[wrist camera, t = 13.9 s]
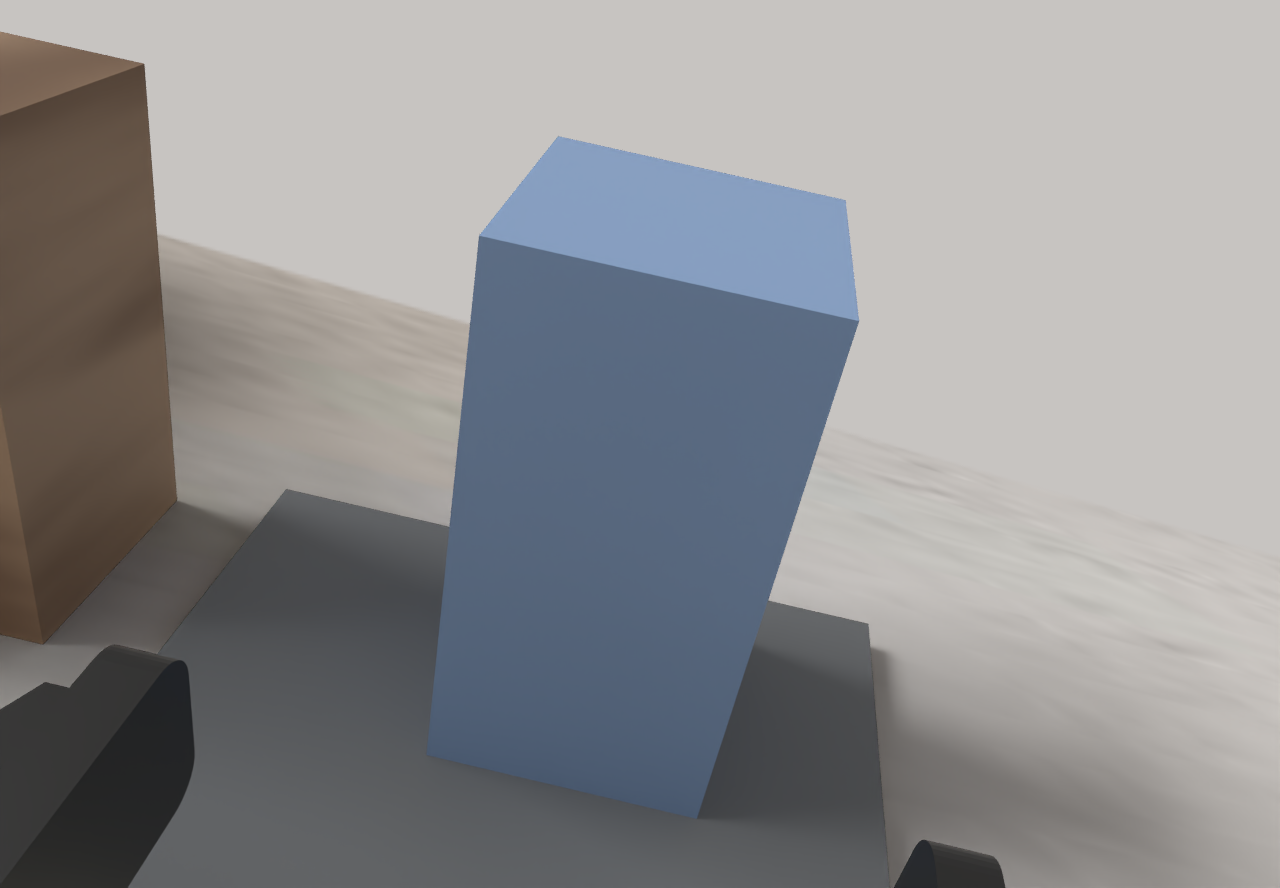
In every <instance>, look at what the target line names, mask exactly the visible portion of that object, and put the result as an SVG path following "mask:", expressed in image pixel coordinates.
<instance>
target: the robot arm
mask: <svg viewBox="0 0 1280 888" xmlns="http://www.w3.org/2000/svg"><path fill="white" fill-rule="evenodd" d="M194 759H195V747H194V734H193V721H192V708H191V696H190V683H189V672H188V667H187V665H186V663H185V662H184V661H182V660H178V659H174V658H170V657H166V656H162V655H157V654H153V653H149V652H145V651H141V650H136V649H132V648H128V647H124V646H120V645H112V646H109V647H107V648H105V649H104V650H103V651H101V652H100V653H99V654H98V655H97V656H96V657H95V658H94V660H93V661H92V662H91V663H90V664H89V665H88V667H87V668H86V669H85V670H84V671H83V672H82V674H81V675H80V676H79V677H78V678H77V679H76V681H75V682H74V683H73V684H72V685H71V687H70V688H67V687H63V686H59V685H55V684H51V683H46V682H45V683H43V684H41V685H40V686H38V687H36V688H35V689H33V690H32V691H30V692H28V693H27V694H25V695H23V696H22V697H20V698H18V699H17V700H15V701H14V702H12V703H10V704H9V705H7V706H5V707H4V708H2V709H0V888H128V886H129V885H130V883H131V882H132V880H133V879H134V877H135V875H136V874H137V872H138V871H139V869H140V868H141V866H142V864H143V863H144V861H145V860H146V858H147V857H148V855H149V853H150V852H151V850H152V849H153V847H154V846H155V844H156V843H157V841H158V839H159V838H160V836H161V835H162V833H163V832H164V830H165V828H166V827H167V825H168V824H169V822H170V821H171V819H172V817H173V816H174V814H175V813H176V811H177V809H178V807H179V806H180V804H181V802H182V799H183V797H184V795H185V793H186V790H187V787H188V785H189V782H190V778H191V775H192V771H193V766H194ZM894 888H1005V884H1004V879H1003V874H1002V870H1001V868H1000V865H999V863H998V861H997V860H996V859H995V858H994V857H993V856H990V855H986V854H982V853H978V852H974V851H969V850H965V849H961V848H957V847H953V846H948V845H944V844H940V843H936V842H931V841H927V840H922V841H920V842H919V843H918V844H917V845H916V847H915V848H914V850H913V852H912V854H911V856H910V858H909V860H908V862H907V864H906V866H905V868H904V869H903V871H902V873H901V875H900V877H899V879H898V881H897V883H896V885H895V887H894Z"/></svg>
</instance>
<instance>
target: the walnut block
mask: <svg viewBox="0 0 1280 888" xmlns="http://www.w3.org/2000/svg"><path fill="white" fill-rule="evenodd" d="M176 501H177V494H176V480H175V467H174V454H173V440H172V427H171V414H170V400H169V387H168V374H167V360H166V347H165V334H164V320H163V307H162V294H161V280H160V267H159V253H158V240H157V227H156V213H155V200H154V187H153V174H152V160H151V147H150V134H149V121H148V107H147V94H146V81H145V68H144V64H143V63H138V62H134V61H129V60H125V59H120V58H115V57H111V56H107V55H102V54H98V53H93V52H88V51H84V50H80V49H75V48H71V47H67V46H62V45H57V44H53V43H49V42H44V41H40V40H35V39H31V38H26V37H22V36H17V35H12V34H8V33H4V32H0V634H1V635H5V636H9V637H14V638H18V639H22V640H26V641H31V642H35V643H39V644H44V643H45V642H46V641H47V640H48V639H49V638H50V637H51V635H52V634H53V633H54V632H55V631H56V630H57V629H58V628H59V627H60V626H61V625H62V624H63V623H64V621H65V620H66V619H67V618H68V617H69V616H70V615H71V614H72V613H73V612H74V611H75V610H76V609H77V607H78V606H79V605H80V604H81V603H82V602H83V601H84V600H85V599H86V598H87V597H88V596H89V595H90V593H91V592H92V591H93V590H94V589H95V588H96V587H97V586H98V585H99V584H100V583H101V582H102V581H103V579H104V578H105V577H106V576H107V575H108V574H109V573H110V572H111V571H112V570H113V569H114V568H115V567H116V565H117V564H118V563H119V562H120V561H121V560H122V559H123V558H124V557H125V556H126V555H127V554H128V553H129V551H130V550H131V549H132V548H133V547H134V546H135V545H136V544H137V543H138V542H139V541H140V540H141V539H142V537H143V536H144V535H145V534H146V533H147V532H148V531H149V530H150V529H151V528H152V527H153V526H154V525H155V523H156V522H157V521H158V520H159V519H160V518H161V517H162V516H163V515H164V514H165V513H166V512H167V511H168V509H169V508H170V507H171V506H172V505H173V504H174V503H175V502H176Z"/></svg>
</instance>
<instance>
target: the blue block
mask: <svg viewBox="0 0 1280 888" xmlns="http://www.w3.org/2000/svg"><path fill="white" fill-rule="evenodd" d="M858 323H859V317H858V309H857V299H856V290H855V281H854V272H853V263H852V255H851V245H850V236H849V228H848V219H847V210H846V201H845V200H842V199H838V198H833V197H828V196H824V195H820V194H815V193H811V192H806V191H801V190H797V189H793V188H788V187H784V186H779V185H775V184H771V183H766V182H762V181H757V180H753V179H748V178H744V177H739V176H735V175H730V174H726V173H721V172H717V171H712V170H708V169H703V168H699V167H694V166H690V165H685V164H680V163H676V162H671V161H667V160H663V159H658V158H654V157H649V156H645V155H640V154H636V153H631V152H626V151H622V150H618V149H613V148H609V147H604V146H600V145H595V144H591V143H586V142H582V141H577V140H573V139H568V138H563V137H557V138H556V140H555V141H554V142H553V143H552V145H551V146H550V147H549V148H548V150H547V151H546V152H545V153H544V155H543V156H542V157H541V158H540V160H539V161H538V162H537V164H536V165H535V166H534V167H533V169H532V170H531V171H530V172H529V174H528V175H527V176H526V177H525V179H524V180H523V181H522V182H521V184H520V185H519V186H518V187H517V189H516V190H515V191H514V193H513V194H512V195H511V196H510V197H509V199H508V200H507V201H506V203H505V204H504V205H503V206H502V208H501V209H500V210H499V211H498V213H497V214H496V215H495V216H494V218H493V219H492V220H491V221H490V223H489V224H488V225H487V226H486V228H485V229H484V230H483V232H482V233H481V234H480V235H479V242H478V252H477V262H476V273H475V283H474V292H473V302H472V312H471V321H470V331H469V341H468V351H467V360H466V370H465V380H464V390H463V400H462V410H461V420H460V429H459V439H458V449H457V459H456V469H455V479H454V489H453V498H452V508H451V518H450V528H449V538H448V548H447V557H446V567H445V577H444V587H443V597H442V607H441V617H440V626H439V636H438V646H437V656H436V666H435V676H434V686H433V695H432V705H431V715H430V725H429V735H428V745H427V754H426V755H429V756H433V757H437V758H441V759H446V760H450V761H454V762H458V763H463V764H467V765H471V766H475V767H479V768H484V769H488V770H492V771H496V772H501V773H505V774H509V775H513V776H518V777H522V778H526V779H530V780H534V781H539V782H543V783H547V784H551V785H556V786H560V787H564V788H568V789H572V790H577V791H581V792H585V793H589V794H594V795H598V796H602V797H606V798H610V799H615V800H619V801H623V802H627V803H632V804H636V805H640V806H644V807H649V808H653V809H657V810H661V811H665V812H670V813H674V814H678V815H682V816H687V817H691V818H695V819H697V816H698V813H699V810H700V807H701V804H702V801H703V798H704V795H705V792H706V789H707V786H708V783H709V780H710V777H711V774H712V770H713V767H714V764H715V761H716V758H717V755H718V752H719V749H720V746H721V743H722V740H723V737H724V734H725V731H726V728H727V724H728V721H729V718H730V715H731V712H732V709H733V706H734V703H735V700H736V697H737V694H738V691H739V688H740V685H741V682H742V678H743V675H744V672H745V669H746V666H747V663H748V660H749V657H750V654H751V651H752V648H753V645H754V642H755V639H756V636H757V632H758V629H759V626H760V623H761V620H762V617H763V614H764V611H765V608H766V605H767V602H768V599H769V596H770V593H771V590H772V586H773V583H774V580H775V577H776V574H777V571H778V568H779V565H780V562H781V559H782V556H783V553H784V550H785V547H786V544H787V540H788V537H789V534H790V531H791V528H792V525H793V522H794V519H795V516H796V513H797V510H798V507H799V504H800V501H801V497H802V494H803V491H804V488H805V485H806V482H807V479H808V476H809V473H810V470H811V467H812V464H813V461H814V458H815V455H816V451H817V448H818V445H819V442H820V439H821V436H822V433H823V430H824V427H825V424H826V420H827V418H828V414H829V412H830V409H831V405H832V402H833V399H834V396H835V393H836V390H837V387H838V384H839V381H840V378H841V375H842V372H843V368H844V366H845V363H846V359H847V356H848V353H849V350H850V347H851V344H852V341H853V338H854V335H855V332H856V329H857V326H858Z"/></svg>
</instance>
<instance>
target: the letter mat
mask: <svg viewBox="0 0 1280 888" xmlns="http://www.w3.org/2000/svg"><path fill="white" fill-rule="evenodd" d="M449 528H450V527H448V526H443V525H439V524H435V523H430V522H426V521H422V520H417V519H413V518H409V517H404V516H400V515H396V514H391V513H387V512H383V511H378V510H374V509H370V508H365V507H361V506H357V505H352V504H348V503H344V502H340V501H335V500H331V499H327V498H322V497H318V496H314V495H309V494H305V493H301V492H296V491H292V490H288V489H286V490H285V491H284V493H283V494H282V495H281V496H280V498H279V499H278V500H277V502H276V503H275V504H274V505H273V507H272V508H271V509H270V511H269V512H268V513H267V514H266V516H265V517H264V518H263V520H262V521H261V522H260V523H259V525H258V526H257V527H256V528H255V530H254V531H253V532H252V534H251V535H250V536H249V537H248V539H247V540H246V541H245V543H244V544H243V545H242V546H241V548H240V549H239V550H238V552H237V553H236V554H235V555H234V557H233V558H232V559H231V560H230V562H229V563H228V564H227V566H226V567H225V568H224V569H223V571H222V572H221V573H220V575H219V576H218V577H217V578H216V580H215V581H214V582H213V583H212V585H211V586H210V587H209V589H208V590H207V591H206V592H205V594H204V595H203V596H202V598H201V599H200V600H199V601H198V603H197V604H196V605H195V607H194V608H193V609H192V610H191V612H190V613H189V614H188V615H187V617H186V618H185V619H184V621H183V622H182V623H181V624H180V626H179V627H178V628H177V630H176V631H175V632H174V633H173V635H172V636H171V637H170V638H169V640H168V641H167V642H166V644H165V645H164V646H163V647H162V649H161V650H160V651H159V653H158V654H157V655H162V656H166V657H170V658H174V659H178V660H182V661H184V662H185V663H186V665H187V667H188V672H189V683H190V696H191V708H192V721H193V734H194V747H195V759H194V766H193V771H192V775H191V778H190V782H189V785H188V787H187V790H186V793H185V795H184V797H183V799H182V802H181V804H180V806H179V807H178V809H177V811H176V813H175V814H174V816H173V817H172V819H171V821H170V822H169V824H168V825H167V827H166V828H165V830H164V832H163V833H162V835H161V836H160V838H159V839H158V841H157V843H156V844H155V846H154V847H153V849H152V850H151V852H150V853H149V855H148V857H147V858H146V860H145V861H144V863H143V864H142V866H141V868H140V869H139V871H138V872H137V874H136V875H135V877H134V879H133V880H132V882H131V883H130V885H129V886H128V888H890V885H889V873H888V861H887V848H886V836H885V824H884V811H883V799H882V787H881V774H880V762H879V750H878V737H877V725H876V713H875V700H874V688H873V676H872V663H871V651H870V639H869V626H868V624H866V623H862V622H858V621H854V620H849V619H845V618H841V617H836V616H832V615H828V614H823V613H819V612H815V611H810V610H806V609H802V608H797V607H793V606H789V605H784V604H780V603H776V602H771V601H768V602H767V605H766V608H765V611H764V614H763V617H762V620H761V623H760V626H759V629H758V632H757V636H756V639H755V642H754V645H753V648H752V651H751V654H750V657H749V660H748V663H747V666H746V669H745V672H744V675H743V678H742V682H741V685H740V688H739V691H738V694H737V697H736V700H735V703H734V706H733V709H732V712H731V715H730V718H729V721H728V724H727V728H726V731H725V734H724V737H723V740H722V743H721V746H720V749H719V752H718V755H717V758H716V761H715V764H714V767H713V770H712V774H711V777H710V780H709V783H708V786H707V789H706V792H705V795H704V798H703V801H702V804H701V807H700V810H699V813H698V816H697V819H695V818H691V817H687V816H682V815H678V814H674V813H670V812H665V811H661V810H657V809H653V808H649V807H644V806H640V805H636V804H632V803H627V802H623V801H619V800H615V799H610V798H606V797H602V796H598V795H594V794H589V793H585V792H581V791H577V790H572V789H568V788H564V787H560V786H556V785H551V784H547V783H543V782H539V781H534V780H530V779H526V778H522V777H518V776H513V775H509V774H505V773H501V772H496V771H492V770H488V769H484V768H479V767H475V766H471V765H467V764H463V763H458V762H454V761H450V760H446V759H441V758H437V757H433V756H429V755H426V754H427V745H428V735H429V725H430V715H431V705H432V695H433V686H434V676H435V666H436V656H437V646H438V636H439V626H440V617H441V607H442V597H443V587H444V577H445V567H446V557H447V548H448V538H449Z"/></svg>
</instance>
